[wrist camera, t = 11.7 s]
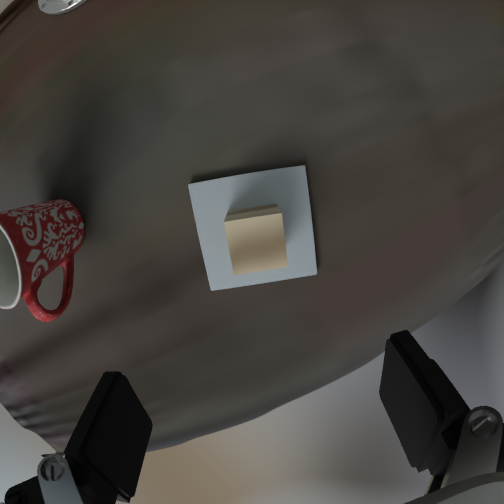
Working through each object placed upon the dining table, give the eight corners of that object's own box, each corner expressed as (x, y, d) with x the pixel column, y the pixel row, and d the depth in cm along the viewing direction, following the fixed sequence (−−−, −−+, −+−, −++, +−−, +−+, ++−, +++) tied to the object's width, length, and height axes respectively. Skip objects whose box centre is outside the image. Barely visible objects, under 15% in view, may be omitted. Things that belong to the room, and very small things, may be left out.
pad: (189, 183, 30) (188, 184, 29) (303, 165, 29) (304, 165, 28) (212, 287, 33) (211, 290, 33) (315, 271, 33) (316, 274, 32)
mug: (28, 216, 30) (-42, 247, 17) (67, 176, 29) (-11, 195, 16) (75, 294, 34) (19, 350, 21) (119, 264, 32) (61, 322, 20)
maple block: (227, 211, 30) (223, 222, 25) (276, 203, 30) (281, 213, 25) (235, 256, 31) (233, 275, 27) (282, 249, 31) (288, 266, 27)
